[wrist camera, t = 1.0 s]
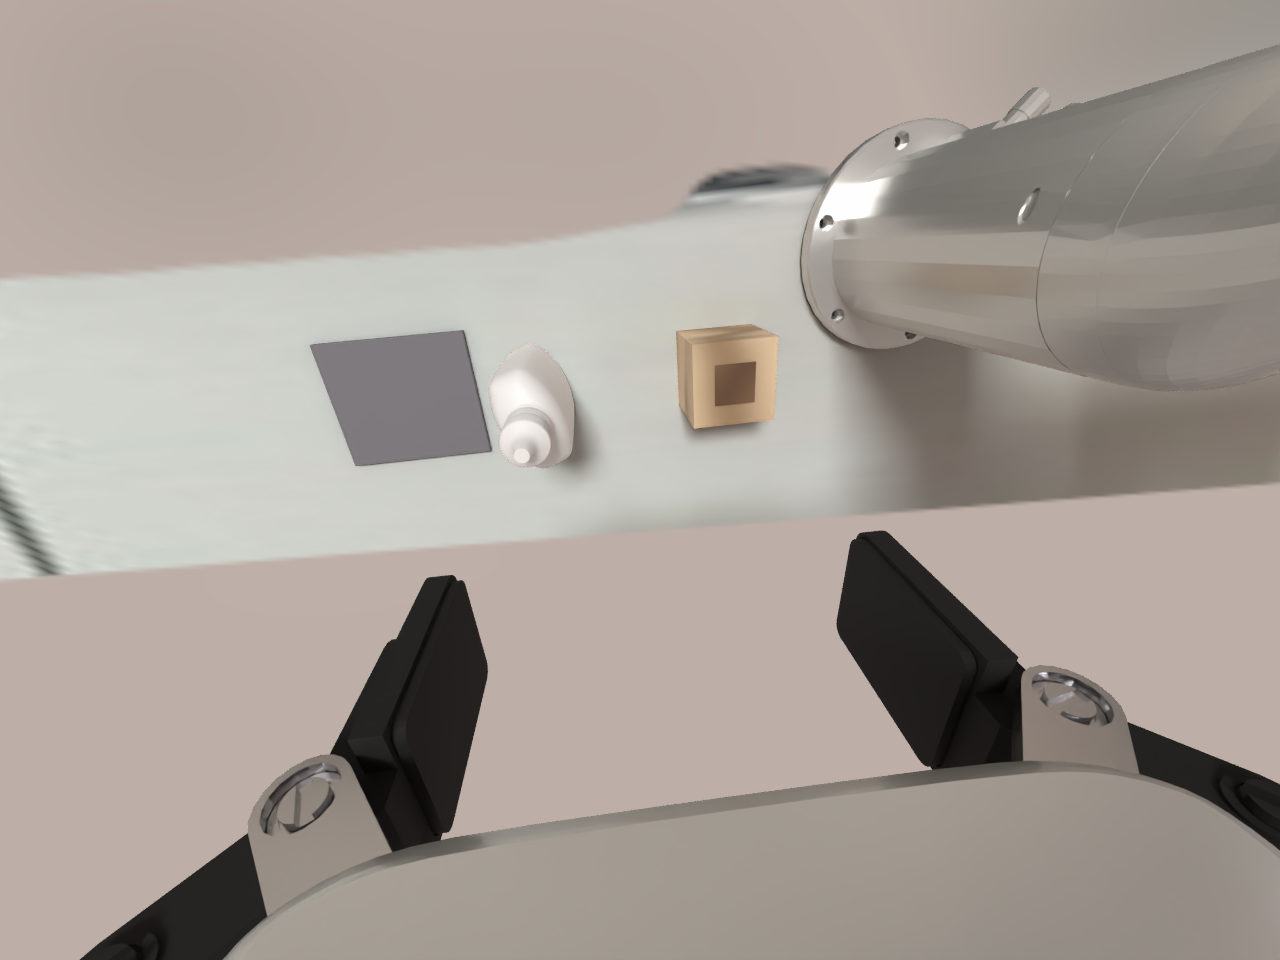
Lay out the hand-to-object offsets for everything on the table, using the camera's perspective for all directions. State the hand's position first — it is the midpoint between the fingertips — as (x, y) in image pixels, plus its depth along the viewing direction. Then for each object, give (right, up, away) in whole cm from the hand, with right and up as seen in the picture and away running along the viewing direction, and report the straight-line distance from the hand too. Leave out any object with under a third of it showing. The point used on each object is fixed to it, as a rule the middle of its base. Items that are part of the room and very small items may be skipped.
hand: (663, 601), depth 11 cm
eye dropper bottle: (-7, +9, +20) cm, 23 cm away
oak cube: (+4, +11, +21) cm, 24 cm away
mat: (-16, +8, +19) cm, 26 cm away
